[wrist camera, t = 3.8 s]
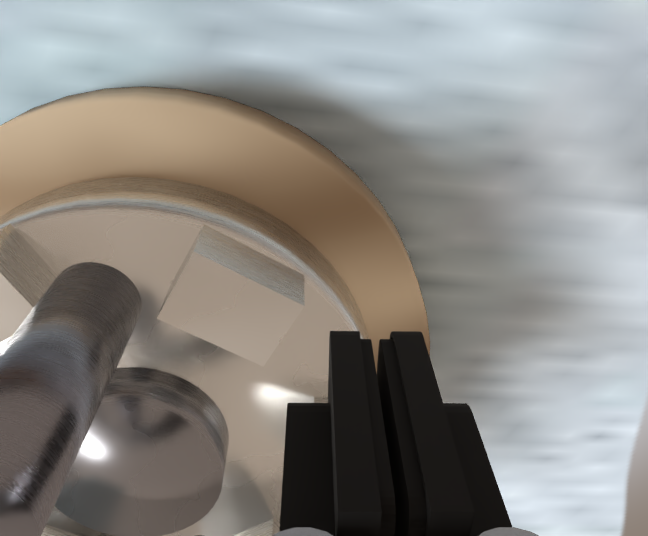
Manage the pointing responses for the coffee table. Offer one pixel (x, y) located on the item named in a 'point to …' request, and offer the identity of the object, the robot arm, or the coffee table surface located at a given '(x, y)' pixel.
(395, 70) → the coffee table surface
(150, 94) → the round tan disc base
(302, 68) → the coffee table surface
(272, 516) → the disc with radial blocks
